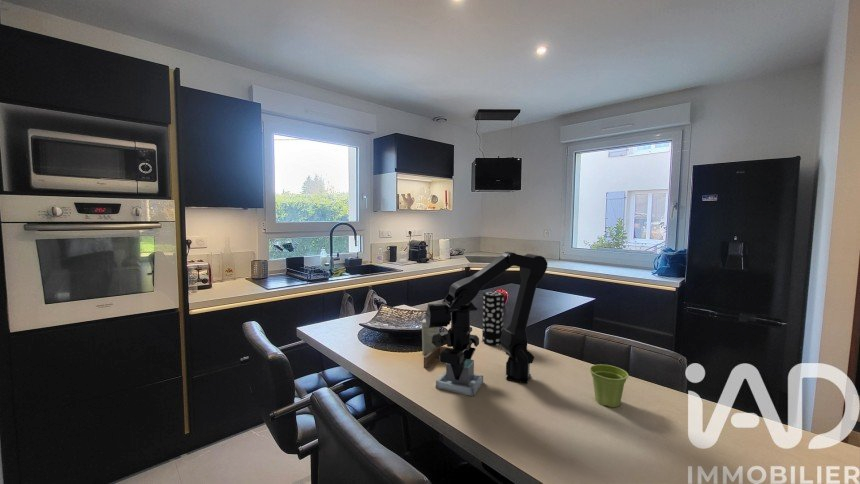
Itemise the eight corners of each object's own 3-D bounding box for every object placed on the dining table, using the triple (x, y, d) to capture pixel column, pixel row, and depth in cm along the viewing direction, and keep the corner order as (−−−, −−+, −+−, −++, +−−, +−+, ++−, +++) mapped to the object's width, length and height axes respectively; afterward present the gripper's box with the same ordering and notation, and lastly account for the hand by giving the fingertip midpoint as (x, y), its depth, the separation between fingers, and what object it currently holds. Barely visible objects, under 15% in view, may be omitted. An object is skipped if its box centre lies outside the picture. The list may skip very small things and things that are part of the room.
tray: (483, 382, 108) (483, 375, 108) (473, 396, 99) (473, 389, 99) (448, 374, 113) (448, 368, 112) (435, 387, 104) (435, 381, 104)
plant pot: (606, 413, 91) (607, 381, 90) (581, 395, 100) (582, 366, 99) (635, 408, 93) (636, 376, 92) (608, 391, 102) (609, 362, 102)
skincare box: (439, 350, 133) (439, 319, 133) (438, 355, 129) (439, 322, 128) (422, 349, 134) (422, 318, 133) (421, 354, 130) (421, 321, 129)
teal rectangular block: (473, 378, 106) (473, 360, 106) (468, 385, 102) (468, 366, 102) (452, 373, 109) (452, 356, 109) (446, 380, 105) (446, 362, 105)
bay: (466, 360, 124) (466, 350, 124) (453, 373, 114) (454, 363, 113) (438, 354, 129) (438, 345, 129) (423, 367, 118) (423, 357, 118)
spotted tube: (478, 339, 145) (479, 292, 144) (496, 337, 148) (497, 290, 147) (488, 346, 138) (488, 296, 136) (506, 344, 140) (507, 295, 139)
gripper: (447, 314, 116) (447, 359, 118) (422, 330, 100) (422, 383, 101) (479, 318, 112) (479, 365, 113) (459, 336, 95) (458, 391, 96)
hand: (460, 375), depth 106 cm, fingers closed on teal rectangular block, 5 cm apart
